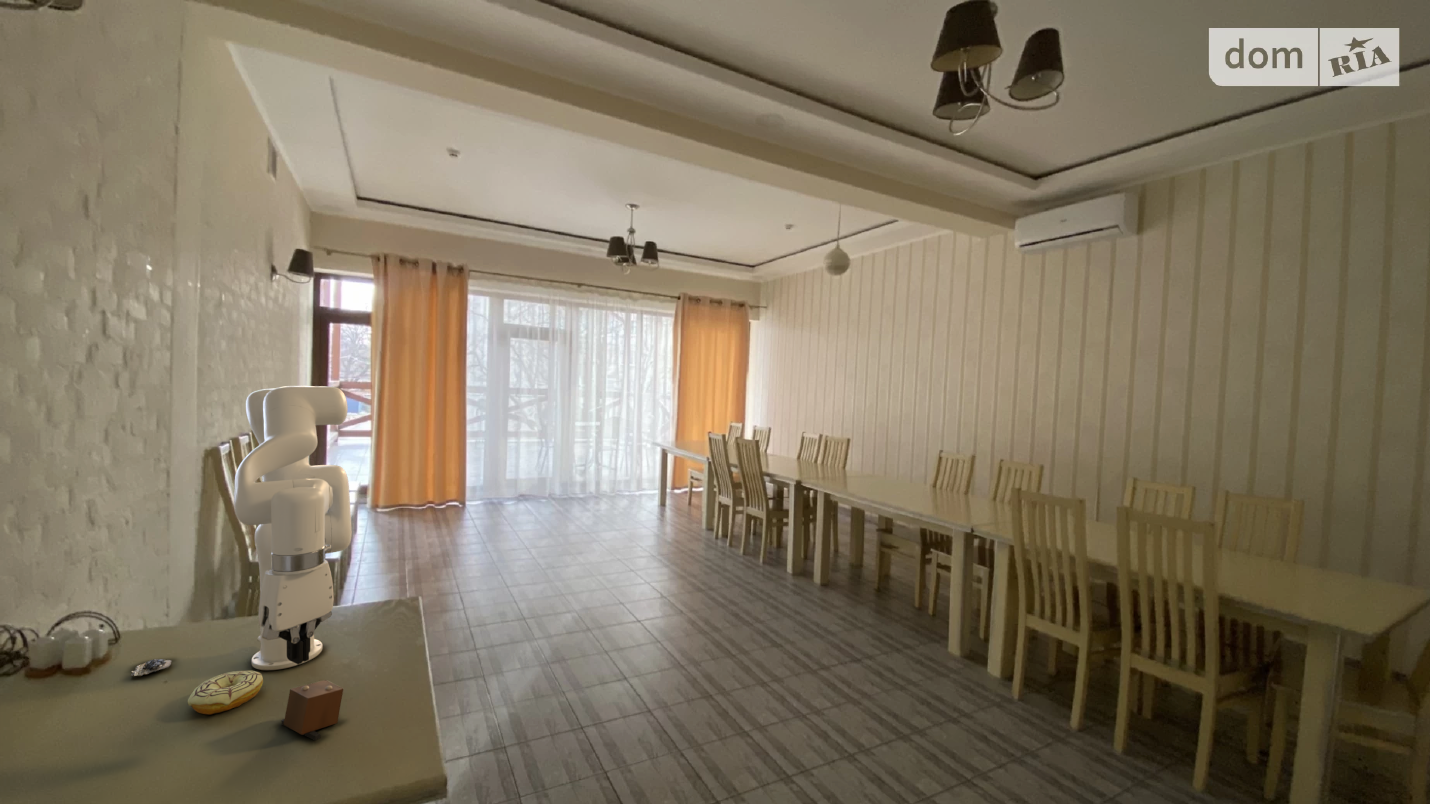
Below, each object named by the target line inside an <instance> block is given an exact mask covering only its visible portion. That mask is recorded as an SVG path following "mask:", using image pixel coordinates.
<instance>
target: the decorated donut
mask: <svg viewBox="0 0 1430 804" xmlns="http://www.w3.org/2000/svg"><path fill="white" fill-rule="evenodd" d="M263 683H264V679H263V674H262V673H261V672H259V671H255V670H236V671H230V672H225V673H221V674H219V675H216V676H213V677H211V678H209V679H206V680H205V681H203V682H202V683H201V684H199V685H197V687H195V688H194V690H193V692H192V693H191V694H190V696H189V697H188V699H187V705H188V706H190V707H192V709H193V710H194V711H195V712H196V713H199V714H203V715H213V714H219V713H222V712H226V711H229V710H232V709H233V708H237V707H240V706H241V705H243V704H245V703H247V702H248V701H250V700H251V699H253V698H254V697H256V696H257V695H258V693H259V692H260V690H261V688H262V686H263Z"/></svg>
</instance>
